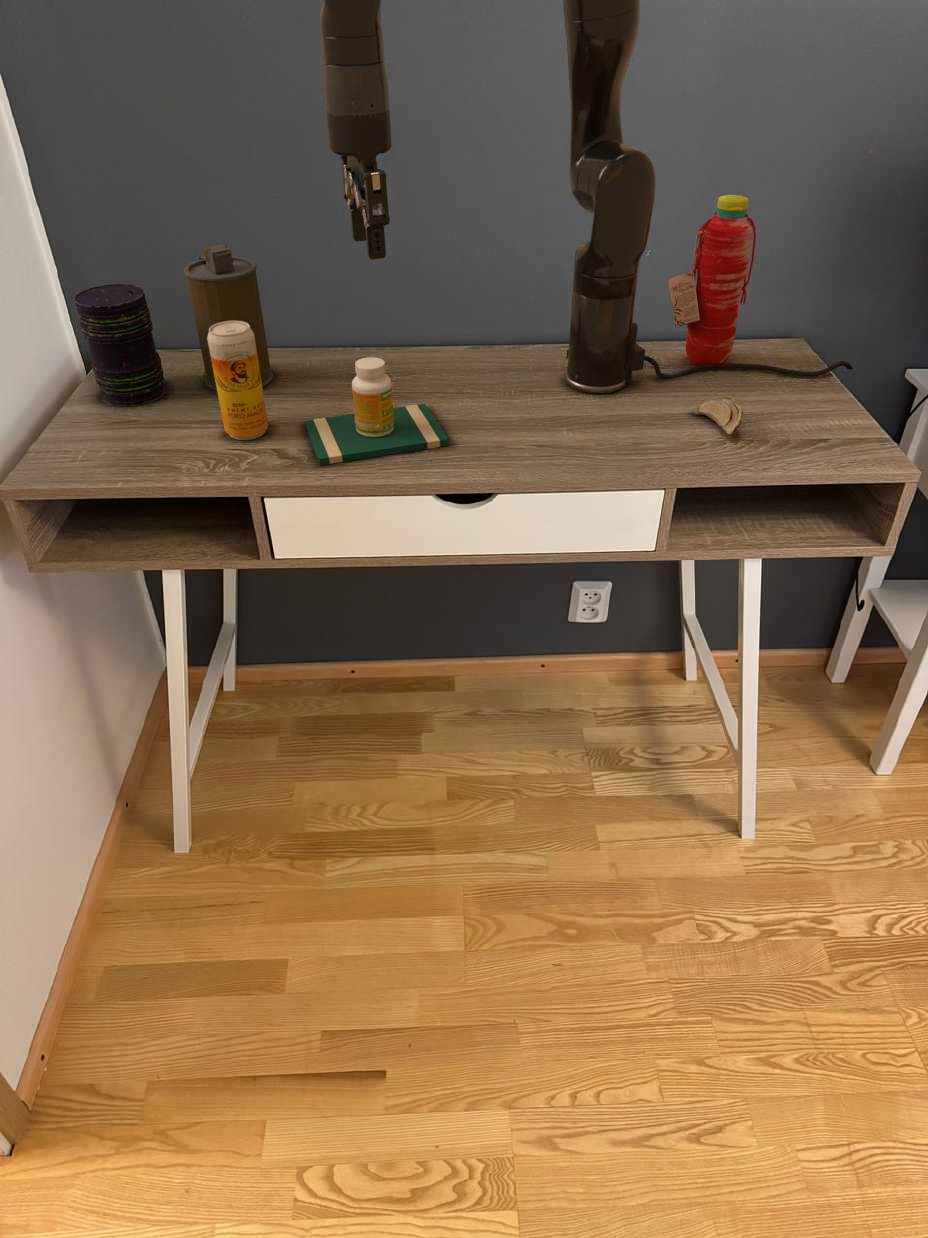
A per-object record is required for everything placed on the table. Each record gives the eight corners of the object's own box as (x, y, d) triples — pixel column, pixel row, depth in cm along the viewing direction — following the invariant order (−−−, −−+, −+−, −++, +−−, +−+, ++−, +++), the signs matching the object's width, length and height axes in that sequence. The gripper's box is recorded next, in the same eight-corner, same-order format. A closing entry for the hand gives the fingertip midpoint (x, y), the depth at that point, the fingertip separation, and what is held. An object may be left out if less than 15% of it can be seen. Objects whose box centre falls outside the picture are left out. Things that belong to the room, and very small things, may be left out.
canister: (284, 382, 139) (265, 249, 126) (221, 399, 134) (195, 262, 122) (255, 360, 146) (235, 232, 133) (195, 375, 141) (168, 244, 129)
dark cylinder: (104, 411, 131) (76, 310, 122) (97, 386, 138) (69, 289, 129) (172, 399, 134) (150, 300, 125) (162, 375, 141) (140, 280, 132)
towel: (425, 409, 131) (425, 402, 130) (449, 445, 122) (449, 438, 121) (304, 426, 127) (303, 420, 126) (319, 465, 118) (319, 458, 117)
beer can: (232, 445, 122) (212, 339, 113) (220, 427, 126) (200, 324, 117) (274, 435, 124) (258, 330, 115) (261, 419, 129) (245, 316, 119)
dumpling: (702, 448, 130) (751, 438, 121) (683, 437, 128) (732, 426, 119) (714, 412, 130) (764, 399, 121) (696, 400, 129) (745, 386, 120)
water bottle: (665, 372, 141) (689, 203, 125) (655, 353, 147) (677, 190, 132) (740, 371, 141) (773, 202, 125) (727, 351, 147) (757, 189, 132)
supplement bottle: (388, 439, 121) (384, 372, 115) (351, 436, 122) (344, 369, 116) (398, 422, 125) (394, 356, 119) (362, 419, 126) (356, 353, 120)
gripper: (404, 113, 100) (411, 261, 111) (373, 95, 111) (383, 231, 121) (339, 118, 99) (353, 268, 109) (314, 99, 109) (329, 237, 119)
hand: (369, 248), depth 115 cm, fingers open, 8 cm apart
